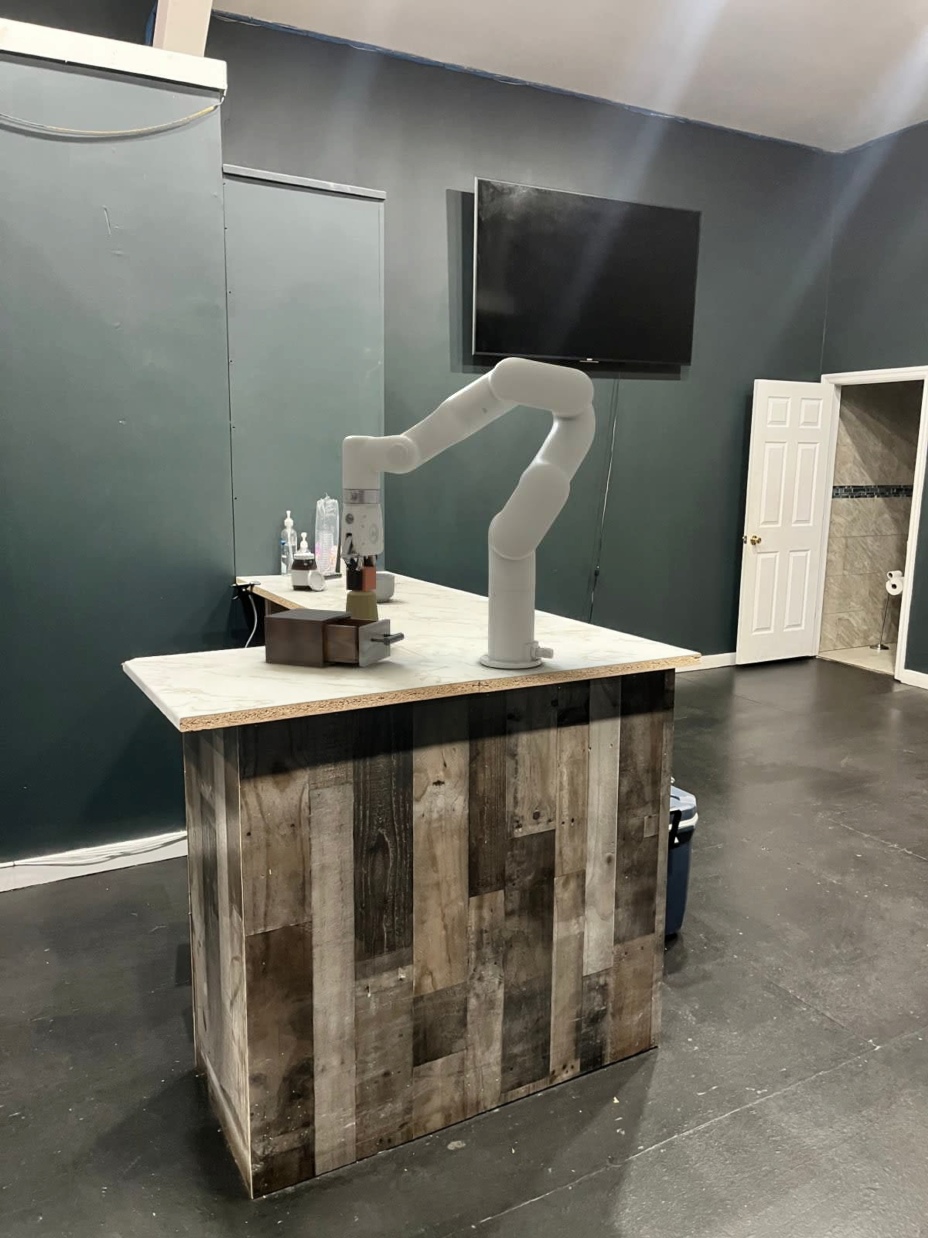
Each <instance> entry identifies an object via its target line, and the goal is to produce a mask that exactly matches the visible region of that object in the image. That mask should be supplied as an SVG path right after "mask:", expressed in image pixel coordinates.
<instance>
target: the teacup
mask: <svg viewBox="0 0 928 1238" xmlns="http://www.w3.org/2000/svg"><path fill="white" fill-rule="evenodd" d="M395 578H396V575H394V574H393V573H386V572H376V589H374V590H371V591H374V592H375V593H376V600H377V603H383V602H384V603H385V602H388V601H389V600H390V599H392V597H393V596H394V594H395V586H396V585H395V584H396V583H395V582H396V581H395Z"/></svg>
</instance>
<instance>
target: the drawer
mask: <svg viewBox="0 0 928 1238" xmlns="http://www.w3.org/2000/svg"><path fill="white" fill-rule="evenodd" d="M404 638H405V634H404V633H403V632H398V633H394V634H391V619H390V618H384V619H379V621H378V620H372V619H358V618H342V619H339V620H335V621H332V622H328V623H325V624H324V660H325V661H336V663H348V664H356V663H357V664H359V667H367V666H369V665H372V664H374V663H377V662H380V661H382V660H384V659H387V658H389V657H391V653H392V652H391V649H392V648H391V645H393V644H395V643H398V642H400V641H403V640H404Z"/></svg>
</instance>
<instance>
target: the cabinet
mask: <svg viewBox="0 0 928 1238" xmlns="http://www.w3.org/2000/svg"><path fill="white" fill-rule="evenodd" d="M352 615H353V612H346V610H330V609H315V608H301V607H296V608H293V609H289V610H284V611H280V612H276V613H272V614H268V615H264V617H263V619H264V620H263V621H264V622H263V623H264V650H265V651H264V652H265V653H264V654H265V663H270V664H281V665H289V666H290V665H291V666H301V667H302V666H303V667H310V668H311V667H313V668H325V667H328V666H331V665H334V664H337V662H336V661H325V660H324V624H325V623H328V622H332V621H335V620H339V619H342V618H353V616H352Z"/></svg>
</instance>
